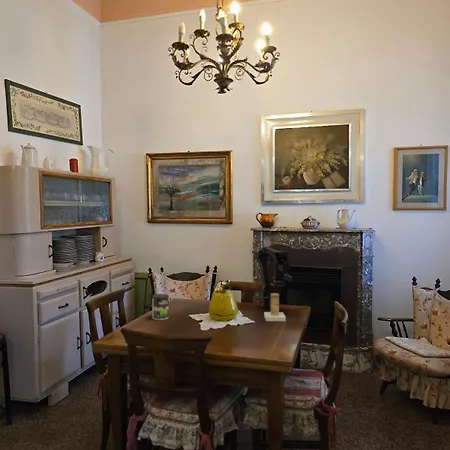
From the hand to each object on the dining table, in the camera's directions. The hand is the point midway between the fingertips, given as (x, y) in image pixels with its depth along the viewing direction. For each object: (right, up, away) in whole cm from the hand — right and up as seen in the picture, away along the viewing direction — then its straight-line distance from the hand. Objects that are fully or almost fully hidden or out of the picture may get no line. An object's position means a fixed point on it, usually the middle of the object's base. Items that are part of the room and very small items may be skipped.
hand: (278, 293), depth 284 cm
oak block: (-4, -11, -12) cm, 17 cm away
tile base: (-4, -14, -12) cm, 19 cm away
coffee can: (-76, -13, -13) cm, 78 cm away
